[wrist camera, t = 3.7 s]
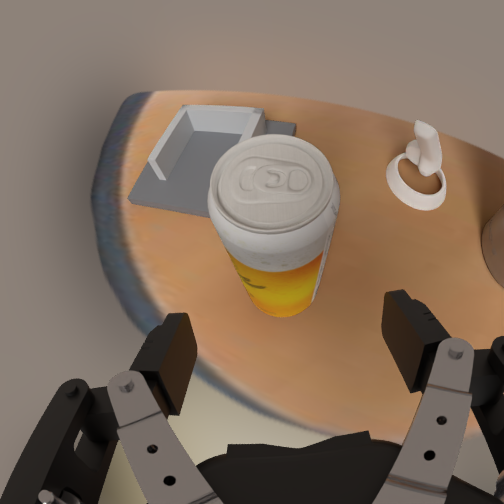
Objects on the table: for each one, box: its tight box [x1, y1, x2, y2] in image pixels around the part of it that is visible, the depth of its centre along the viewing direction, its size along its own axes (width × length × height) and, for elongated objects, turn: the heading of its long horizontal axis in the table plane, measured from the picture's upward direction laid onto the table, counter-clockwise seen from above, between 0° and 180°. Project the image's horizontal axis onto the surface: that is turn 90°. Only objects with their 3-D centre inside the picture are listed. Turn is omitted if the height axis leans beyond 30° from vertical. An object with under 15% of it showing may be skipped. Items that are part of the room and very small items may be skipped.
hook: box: [386, 120, 446, 210], centre depth 25 cm, size 8×12×7 cm
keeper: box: [128, 105, 296, 218], centre depth 30 cm, size 16×14×5 cm
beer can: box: [207, 134, 340, 317], centre depth 19 cm, size 6×6×15 cm
